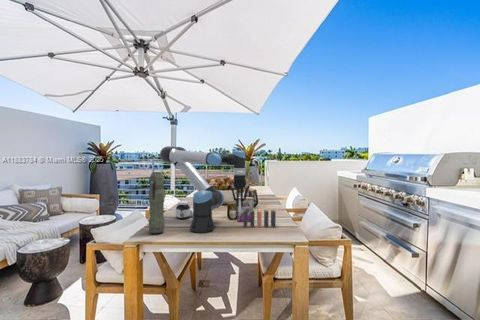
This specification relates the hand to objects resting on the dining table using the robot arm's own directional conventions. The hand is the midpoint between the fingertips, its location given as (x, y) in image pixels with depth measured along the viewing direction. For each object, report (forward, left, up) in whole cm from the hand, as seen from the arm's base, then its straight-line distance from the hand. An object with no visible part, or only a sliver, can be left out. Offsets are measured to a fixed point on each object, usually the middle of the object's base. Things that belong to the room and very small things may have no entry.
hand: (239, 211), depth 159 cm
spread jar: (-39, +26, -10) cm, 48 cm away
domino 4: (+17, 0, -10) cm, 20 cm away
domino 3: (+13, 0, -10) cm, 16 cm away
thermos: (-50, -9, -10) cm, 52 cm away
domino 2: (+8, 0, -10) cm, 13 cm away
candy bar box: (+5, +14, -10) cm, 18 cm away
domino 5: (+22, 0, -10) cm, 24 cm away
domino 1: (+4, 0, -10) cm, 10 cm away
